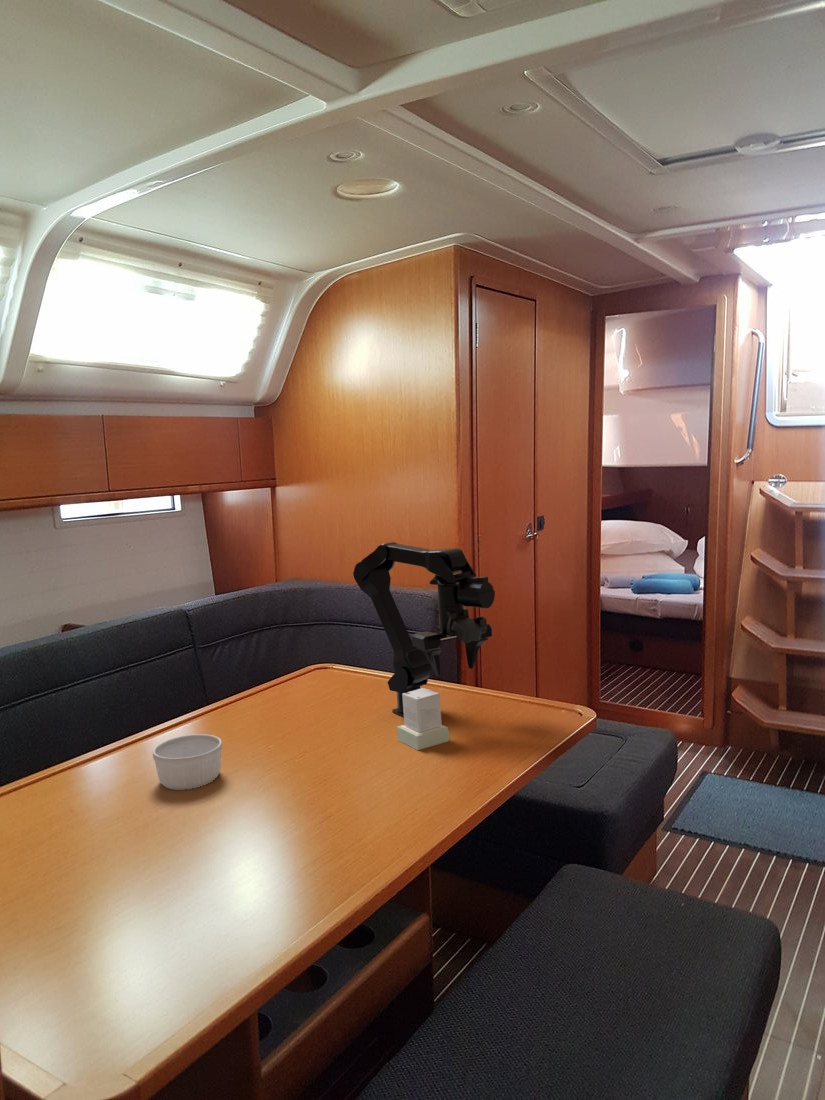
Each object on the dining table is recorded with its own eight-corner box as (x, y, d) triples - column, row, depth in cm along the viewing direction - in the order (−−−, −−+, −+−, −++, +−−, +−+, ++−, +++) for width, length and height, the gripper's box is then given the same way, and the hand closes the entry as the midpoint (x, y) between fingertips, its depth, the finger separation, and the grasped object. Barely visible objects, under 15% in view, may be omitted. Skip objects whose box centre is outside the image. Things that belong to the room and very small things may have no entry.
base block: (397, 739, 167) (397, 725, 166) (428, 731, 171) (427, 717, 170) (417, 750, 160) (416, 735, 160) (448, 741, 164) (448, 726, 164)
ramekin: (237, 776, 152) (235, 742, 151) (177, 799, 142) (174, 763, 142) (201, 761, 161) (198, 729, 160) (143, 782, 151) (139, 748, 151)
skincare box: (442, 726, 164) (440, 693, 163) (418, 733, 161) (417, 699, 160) (426, 719, 169) (424, 687, 169) (403, 725, 166) (401, 692, 165)
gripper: (437, 615, 160) (441, 688, 162) (506, 603, 170) (509, 671, 172) (408, 609, 170) (412, 677, 171) (475, 597, 180) (479, 662, 181)
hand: (454, 672), depth 174 cm, fingers open, 9 cm apart
